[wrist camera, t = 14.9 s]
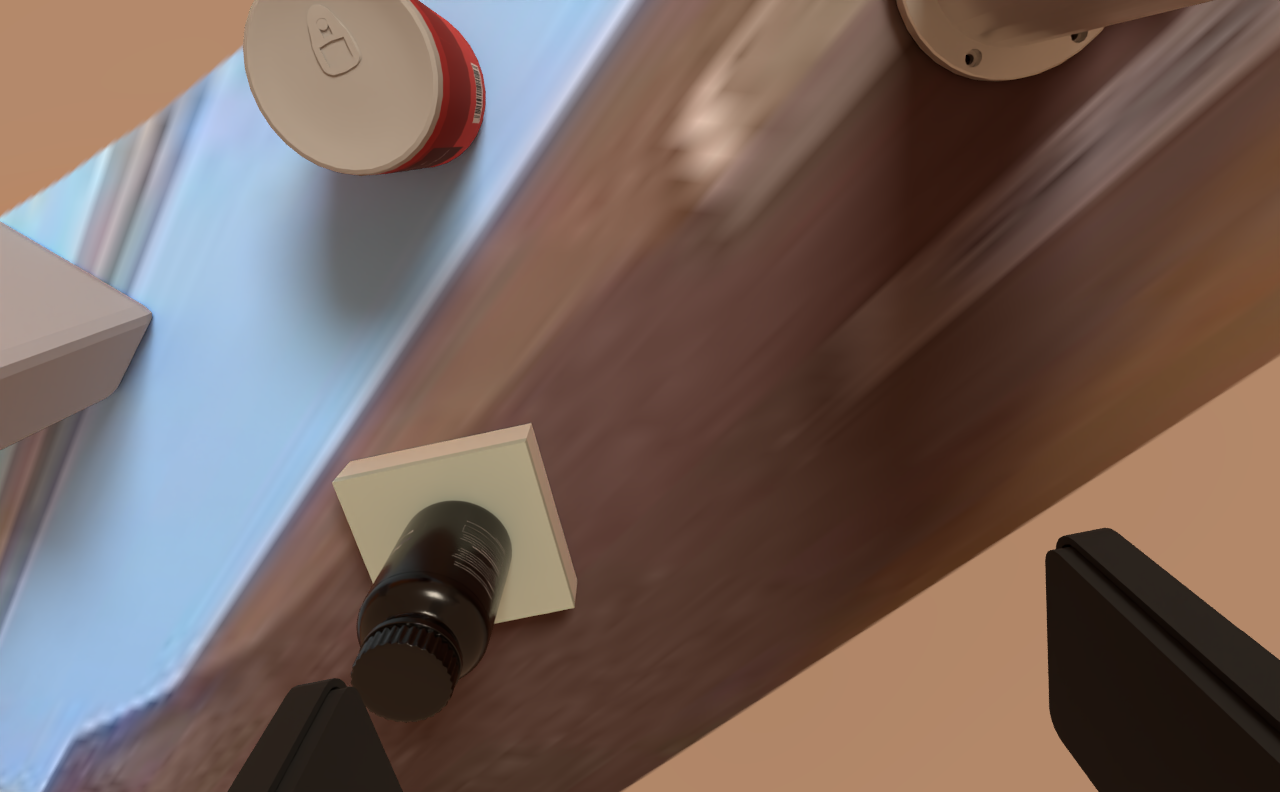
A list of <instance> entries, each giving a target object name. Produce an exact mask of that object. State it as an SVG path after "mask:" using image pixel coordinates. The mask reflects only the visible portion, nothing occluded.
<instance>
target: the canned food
mask: <svg viewBox="0 0 1280 792" xmlns="http://www.w3.org/2000/svg"><path fill="white" fill-rule="evenodd" d="M243 52H244V63H245V70H246V74H247V78H248V82H249V86H250V89H251V92H252V94H253V96H254V98H255V101H256V103H257V105H258V107H259V110H260V111H261V113H262V114H263V116H264V117H265V119H266V120H267V122H268V123H269V125H270V126H271V128H272V129H273V130H274V131H275V132H276V133H277V135H278V136H279V137H280V138H281V139H282V140H283V141H284V142H285V143H286V144H287V145H288V146H289V147H291V148H292V149H293V150H294V151H296V152H297V153H298V154H299V155H301V156H302V157H304V158H305V159H307V160H309V161H311V162H313V163H315V164H316V165H318V166H320V167H323V168H326V169H329V170H332V171H335V172H339V173H344V174H352V175H359V176H363V175H377V174H388V173H395V172H402V171H409V170H416V169H422V168H429V167H435V166H439V165H442V164H445V163H448V162H450V161H451V160H453V159H455V158H456V157H458V156H460V155H461V154H462V153H463V152H464V151H465V150H466V149H467V148H468V147H469V146H470V144H471V143H472V141H473V140H474V139H475V137H476V136H477V133H478V131H479V129H480V126H481V124H482V121H483V116H484V111H485V94H486V91H485V85H484V79H483V74H482V71H481V68H480V65H479V62H478V60H477V58H476V56H475V54H474V52H473V50H472V49H471V47H470V45H469V44H468V42H467V41H466V40H465V39H464V37H463V36H462V35H461V33H460V32H459V31H458V30H457V29H456V28H454V27H453V26H452V25H451V24H450V23H449V22H448V21H446V20H445V19H444V18H442V17H441V16H439V15H438V14H437V13H435V12H434V11H432V10H431V9H430V8H428V7H427V6H425V5H424V4H423V3H421V2H420V1H418V0H255V1H254V2H253V4H252V6H251V8H250V12H249V15H248V18H247V22H246V25H245V32H244V43H243Z"/></svg>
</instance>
